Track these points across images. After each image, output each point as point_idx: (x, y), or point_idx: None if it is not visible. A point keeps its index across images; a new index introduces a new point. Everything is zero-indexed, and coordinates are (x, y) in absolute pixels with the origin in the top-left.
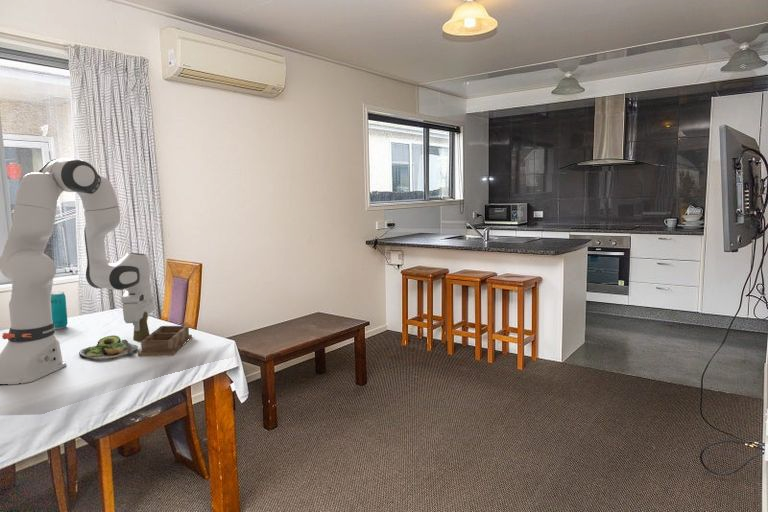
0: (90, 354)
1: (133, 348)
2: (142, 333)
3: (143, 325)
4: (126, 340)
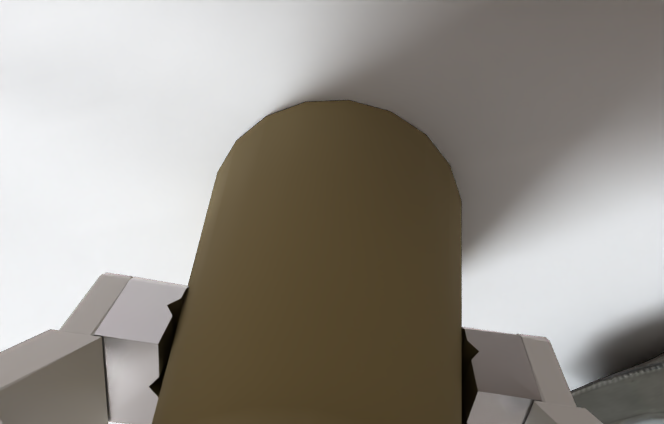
0: None
1: None
2: (453, 246)
3: (433, 333)
4: (609, 389)
